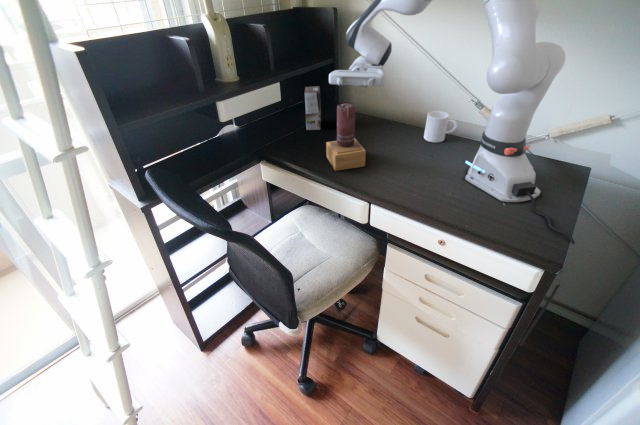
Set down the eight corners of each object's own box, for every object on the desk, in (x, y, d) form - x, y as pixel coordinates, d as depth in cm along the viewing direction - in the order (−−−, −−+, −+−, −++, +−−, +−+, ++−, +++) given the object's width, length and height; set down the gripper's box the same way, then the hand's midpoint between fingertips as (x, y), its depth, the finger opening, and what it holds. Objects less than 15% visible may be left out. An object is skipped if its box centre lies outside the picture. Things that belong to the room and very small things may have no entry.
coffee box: (321, 130, 142) (319, 92, 132) (306, 130, 142) (304, 92, 132) (321, 122, 149) (320, 85, 139) (307, 122, 149) (305, 86, 139)
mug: (450, 146, 125) (455, 122, 119) (420, 139, 131) (424, 115, 125) (456, 139, 130) (462, 115, 124) (428, 132, 136) (432, 109, 130)
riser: (364, 166, 115) (365, 149, 111) (335, 171, 113) (335, 154, 109) (354, 152, 124) (354, 136, 120) (326, 156, 122) (326, 141, 118)
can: (340, 148, 112) (340, 108, 104) (334, 141, 117) (334, 102, 109) (356, 146, 114) (358, 106, 105) (350, 138, 119) (351, 100, 110)
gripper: (332, 64, 124) (324, 73, 114) (387, 65, 120) (383, 75, 109) (333, 81, 128) (324, 92, 117) (385, 83, 124) (381, 94, 113)
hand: (353, 84), depth 113 cm, fingers open, 8 cm apart
